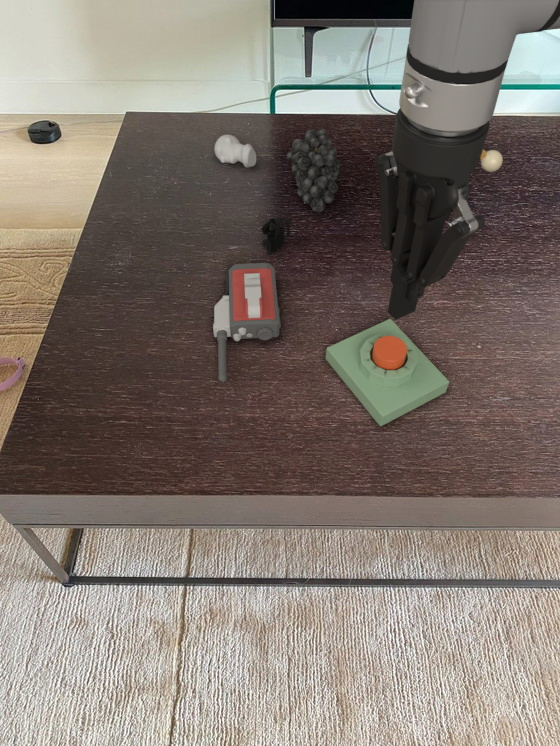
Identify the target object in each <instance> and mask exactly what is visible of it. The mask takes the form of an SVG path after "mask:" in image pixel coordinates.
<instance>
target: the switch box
mask: <svg viewBox="0 0 560 746" xmlns="http://www.w3.org/2000/svg"><path fill="white" fill-rule="evenodd" d="M383 336H394V337H397V338H399V339H401V340H402V341H403V342H404V343H405V344H406V347H407V354H406V358H405V362H404V364H403V365H402V366H401V367H400V368H398V369H395V370H385V369H382V368H380V367H378V366H377V365H376V364H375V363H374V361H373V359H372V352H373V347H374V343H375V342H376V341H377V340H378V339H379V338H381V337H383ZM325 360H326V361H327V363H328V364H329V365H330V366H331V367H332V369H333V370H334V371H335V373H336V374H337V375H338V376H339V377H340V379H341V380H342V381H343V382H344V384H345V385H346V386H347V388H349V390H350V391H351V393H353V395H354V396H355V397H356V399H357V400H358V401H359V402H360V403H361V405H362V406H363V407H364V408H365V410H366V411H367V412H368V413H369V415H370V416H371V417H372V418H373V420H374V421H375V422H376V423H377V424H378V426H379V427H383V426H384V425H386V424H388V423H390V422H392V421H393V420H395V419H398V418H400V417H401V416H403V415H405V414H407V413H409V412H411V411H413V410H415V409H416V408H418V407H420V406H423V405H424V404H426V403H428V402H430V401H432V400H434V399H436V398H437V397H440V396H442V395H444V394H445V393H446V392H447V391H448V390H447V389H448V387H449V384H450V381H449V379H447V377H446V376H445V375H444V374H443V373H442V372H441V371H440V370H439V369H438V367H436V366H435V365H434V364H433V362H432V361H431V360H430V359H429V358H428V357H427V356H426V355H425V353H423V352H422V351H421V349H419V347H418V346H416V344H415V343H414V342H413V341H412V340H411V339H410V338H409V337H408V336H407V335H406V334H405V333H404V331H403V330H402V329H401V328H400V327H399V326H398V325H397V324H396V323H395V322H394V320H393V319H392V318H388V319H386V320H384V321H382V322H380V323H377V324H376V325H374V326H371V327H369V328H367V329H364V330H361V331H360V332H358V333H355V334H354V335H352V336H349V337H347V338H345V339H343V340H340V341H338V342H337V343H334V344H332V345H330V346H328V347H326V350H325Z"/></svg>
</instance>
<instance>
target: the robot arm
mask: <svg viewBox="0 0 560 746" xmlns="http://www.w3.org/2000/svg"><path fill="white" fill-rule="evenodd" d="M552 30H560V0H414V1H413V7H412V14H411V22H410V28H409V36H408V44H407V46H406V47H407V48H406V55H405V61H404V68H403V74H402V79H401V81H402V82H401V87H400V93H399V99H398V105H399V108H398V110H397V111H396V115H395V116H396V117H395V118H396V119H395V122H394V123H395V124H394V130H393V135H392V136H393V137H392V144H391V150H392V151H389V152H386V153H384V154H380V155H379V156H376V157H375V166H376V171H377V175H378V179H379V204H380V206H379V209H380V210H379V211H380V238H381V239H380V244H381V247H382V250H383V251H386V252H387V251H389V253H390V254H391V255H390V261H391V263H392V268H391V273H390V274H391V275H390V283H391V285H392V286H391V291H390V297H389V302H388V308H387V313H388V314H389V316H390V317H392V318H393V319H394V321H397V320H399V319H402V318H404V317H406V316H408V315H410V314H412V313H414V312H416V309H417V304H418V301H419V299H420V298H421V299H422V297H424V293H425V289H426V287H429V286H430V285H432V284H433V285H434V284H435V283H437V282H439V281H441V280H444V279H445V278H446V277H447V275H448V274H449V272H450V271H451V269H452V267H453V265H455V262H456V261H457V259H458V258H459V256H460V254H461V253H462V251H463V250H464V248H465V246H466V244H467V243H468V241H469V240H470V238H471V237H472V235H473V234H474V233H476V232H477V231H479V230H481V229H483V228H484V227H485V225H486V220H485V217H484V216H483V215H482V214H479V213H478V214H475V215H474V214H473V211H472V210H471V207H470V206H469V203H468V200H469V197H470V193H471V189H470V178H471V175H472V174H473V172H474V170H475V169H476V168H477V166H478V164H479V162H480V161H481V159H480V158H481V154H482V151H483V149H484V147H485V145H486V144H485V143H486V140H487V137H488V133H489V129H490V121H491V119H492V117H493V116H494V113H495V110H496V105H497V102H498V98H499V94H500V90H501V87H502V83H503V79H504V76H505V72H506V69H507V66H508V62H509V59H510V56H511V53H512V51H513V47H514V45H515V44H514V43H515V41H516V37H517V36H518V35H523V34H533V33H541V32H545V31H552ZM451 214H452V215H451ZM449 218H450V219H449ZM448 220H450V221H448ZM446 221H448V222H446ZM445 224H446V225H445ZM445 226H446V228H447V229H446V230H445V231H444V227H445Z"/></svg>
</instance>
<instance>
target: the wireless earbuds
mask: <svg viewBox="0 0 560 746" xmlns="http://www.w3.org/2000/svg"><path fill="white" fill-rule="evenodd" d="M282 222H283V223H284V225H285V226H286V238H287V239H289V238H290V237H291V223H292V218H291V217H287V218H285V219H284V221H283V218H282V217H281V216H278V217H275V218H274V217H273V218H270V219H269V220H268V221H267V222H266V223H265V224H264V225H263V226H262V227H261V231H262V234H263V235H265V236H266V237H267V238H263V239H262V242H261V246H262V248H266V247H267V256H268V257H270V256H271V255H272V253H275V252H276V251H278V250H279V249H280V248H281V247H282V246H283V245H284V243H285V227H283V226H281V224H282Z"/></svg>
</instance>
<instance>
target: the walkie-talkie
mask: <svg viewBox="0 0 560 746" xmlns="http://www.w3.org/2000/svg"><path fill="white" fill-rule="evenodd" d="M275 269H276V268H275V267H274V266H272V264H270V263H268V262H256V263H255V262H254V263H235V264H234V265H232V266H231V265H230V266H228V267H227V268H226V270H225V282H226V288H225V289H226V291H225V293H224V295H222V298H221V299H220V300H219V301H218V302H216V304H215V305H214V307H213V314H214V315H213V324H212V331H213V336H214V338H216V340H217V364H218V365H217V369H218V370H217V372H218V377H217V379H218V380H219V382H222V383H224V382H226V381H227V379H228V375H227V373H228V372H227V369H228V368H227V367H228V366H227V341H228V338H229V337H230V338H231V339H233V341H235V342H240V340H243V339H259V340H260V341H269V340H271V339H272V338H278V337H279V336H280V329H281V327H282V326H281V325H282V324H281V317H280V312H281V311H280V306H279V301H278V293H277V292H278V291H277V281H276V280H277V279H276V270H275Z"/></svg>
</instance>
